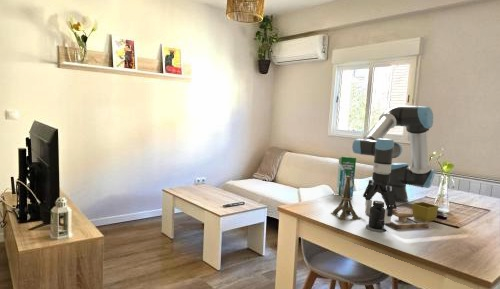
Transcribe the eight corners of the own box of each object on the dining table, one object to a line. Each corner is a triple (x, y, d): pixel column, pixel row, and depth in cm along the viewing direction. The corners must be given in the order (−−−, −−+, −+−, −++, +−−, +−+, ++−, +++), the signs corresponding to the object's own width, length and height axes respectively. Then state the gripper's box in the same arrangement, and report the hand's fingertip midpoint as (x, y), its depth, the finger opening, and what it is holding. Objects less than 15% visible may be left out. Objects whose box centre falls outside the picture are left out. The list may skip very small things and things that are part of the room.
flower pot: (425, 225, 158) (427, 207, 158) (409, 220, 166) (411, 203, 165) (437, 223, 163) (439, 206, 162) (420, 218, 170) (422, 201, 169)
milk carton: (349, 192, 219) (353, 155, 216) (352, 196, 210) (356, 157, 207) (336, 191, 220) (339, 154, 217) (338, 194, 211) (341, 156, 208)
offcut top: (412, 217, 159) (413, 213, 159) (398, 217, 159) (398, 213, 158) (408, 215, 163) (408, 211, 163) (394, 215, 162) (394, 211, 162)
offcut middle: (406, 218, 163) (406, 215, 163) (406, 223, 157) (406, 219, 157) (398, 217, 165) (399, 213, 165) (398, 221, 158) (398, 217, 158)
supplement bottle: (382, 231, 146) (385, 205, 145) (366, 227, 149) (369, 201, 148) (385, 226, 152) (387, 201, 150) (370, 223, 155) (372, 198, 154)
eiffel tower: (330, 213, 170) (334, 166, 167) (348, 213, 173) (352, 166, 170) (340, 220, 160) (345, 170, 157) (359, 219, 162) (364, 170, 160)
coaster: (377, 224, 156) (378, 223, 156) (390, 231, 147) (391, 230, 147) (361, 225, 154) (361, 224, 153) (374, 232, 145) (374, 231, 145)
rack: (394, 215, 173) (395, 209, 172) (428, 230, 152) (428, 223, 151) (365, 216, 167) (366, 210, 167) (396, 232, 146) (396, 225, 146)
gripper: (358, 167, 159) (354, 209, 161) (394, 178, 135) (388, 228, 137) (371, 167, 161) (367, 209, 163) (408, 178, 137) (403, 227, 139)
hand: (377, 218), depth 150 cm, fingers open, 13 cm apart
